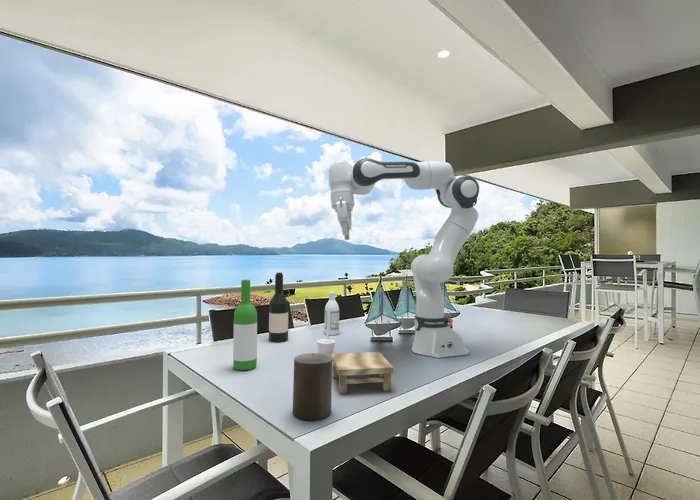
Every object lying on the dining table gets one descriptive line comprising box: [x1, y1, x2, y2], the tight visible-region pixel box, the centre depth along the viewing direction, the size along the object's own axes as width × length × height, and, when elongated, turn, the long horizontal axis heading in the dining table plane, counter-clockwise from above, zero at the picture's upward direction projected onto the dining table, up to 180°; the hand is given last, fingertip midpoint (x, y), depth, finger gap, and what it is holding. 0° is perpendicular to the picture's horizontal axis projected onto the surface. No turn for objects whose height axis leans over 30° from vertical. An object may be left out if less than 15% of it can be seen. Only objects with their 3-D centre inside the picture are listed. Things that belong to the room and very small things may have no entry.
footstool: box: [331, 351, 394, 395], centre depth 114 cm, size 16×16×7 cm
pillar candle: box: [292, 352, 333, 422], centre depth 94 cm, size 10×10×15 cm
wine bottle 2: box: [268, 272, 289, 344], centre depth 164 cm, size 8×8×30 cm
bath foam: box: [324, 291, 340, 336], centre depth 178 cm, size 7×7×20 cm
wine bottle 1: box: [232, 279, 258, 371], centre depth 127 cm, size 8×8×30 cm
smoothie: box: [316, 328, 336, 356], centre depth 126 cm, size 6×6×14 cm
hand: (346, 237), depth 141 cm, fingers open, 8 cm apart
